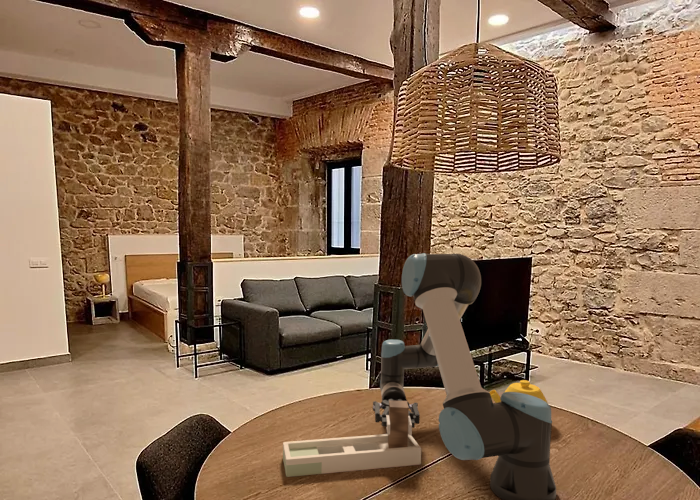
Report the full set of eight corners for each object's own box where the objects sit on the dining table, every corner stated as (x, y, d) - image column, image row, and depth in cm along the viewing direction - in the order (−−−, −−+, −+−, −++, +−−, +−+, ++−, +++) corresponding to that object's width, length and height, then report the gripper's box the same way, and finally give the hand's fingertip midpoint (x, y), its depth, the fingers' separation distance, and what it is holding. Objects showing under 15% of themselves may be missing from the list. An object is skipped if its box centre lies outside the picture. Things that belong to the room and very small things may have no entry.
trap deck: (408, 447, 140) (408, 432, 140) (420, 464, 131) (421, 448, 130) (282, 458, 133) (283, 442, 132) (286, 476, 123) (286, 459, 123)
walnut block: (405, 442, 137) (406, 400, 136) (407, 451, 132) (408, 407, 131) (387, 442, 137) (388, 400, 136) (388, 450, 132) (390, 407, 131)
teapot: (498, 433, 151) (499, 390, 151) (478, 413, 167) (480, 374, 166) (558, 431, 154) (560, 388, 153) (534, 412, 169) (535, 373, 169)
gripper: (422, 411, 152) (433, 444, 129) (364, 409, 152) (365, 442, 129) (423, 387, 151) (434, 417, 128) (365, 385, 152) (365, 415, 129)
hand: (399, 429), depth 129 cm, fingers closed on walnut block, 5 cm apart
